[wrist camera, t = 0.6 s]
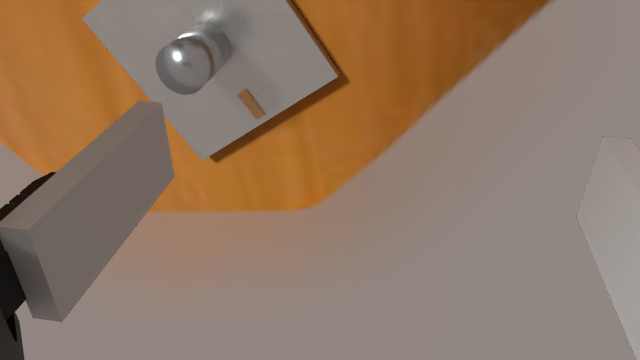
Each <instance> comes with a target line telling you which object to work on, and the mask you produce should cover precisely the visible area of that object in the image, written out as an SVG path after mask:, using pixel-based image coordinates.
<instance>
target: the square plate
mask: <svg viewBox="0 0 640 360" xmlns="http://www.w3.org/2000/svg"><path fill="white" fill-rule="evenodd" d="M82 19H83V21H84V22H85V23H86V24H87V25H88V26H89V28H90V29H91V30H92V31H93V32H94V34H95V35H96V36H97V37H98V38H99V39H100V41H101V42H102V43H103V44H104V45H105V46H106V48H107V49H108V50H109V51H110V52H111V54H112V55H113V56H114V57H115V58H116V59H117V61H118V62H119V63H120V64H121V65H122V67H123V68H124V69H125V70H126V71H127V72H128V74H129V75H130V76H131V77H132V78H133V79H134V81H135V82H136V83H137V84H138V85H139V87H140V88H141V89H142V90H143V91H144V92H145V94H146V95H147V96H148V97H149V98H150V99H151V101H152V102H159V103H162V107H163V113H164V116H165V117H166V118H167V119H168V121H169V122H170V123H171V124H172V125H173V127H174V128H175V129H176V130H177V131H178V132H179V134H180V135H181V136H182V137H183V138H184V139H185V141H186V142H187V143H188V144H189V145H190V147H191V148H192V149H193V150H194V151H195V152H196V154H197V155H198V156H199V157H200V158H201V159H202V160H204V159H206V158H207V157H209V156H210V155H212V154H214V153H215V152H217V151H219V150H220V149H222V148H223V147H225V146H227V145H228V144H230V143H232V142H233V141H235V140H236V139H238V138H240V137H241V136H243V135H245V134H246V133H248V132H249V131H251V130H253V129H254V128H256V127H257V126H259V125H261V124H262V123H264V122H266V121H267V120H269V119H270V118H272V117H274V116H275V115H277V114H279V113H280V112H282V111H283V110H285V109H287V108H288V107H290V106H292V105H293V104H295V103H296V102H298V101H300V100H301V99H303V98H304V97H306V96H308V95H309V94H311V93H313V92H314V91H316V90H317V89H319V88H321V87H322V86H324V85H326V84H327V83H329V82H330V81H332V80H334V79H335V78H337V77H338V76H339V73H340V71H339V70H338V68H337V67H336V65H335V64H334V63H333V61H332V60H331V58H330V57H329V55H328V54H327V52H326V51H325V49H324V48H323V46H322V45H321V43H320V42H319V40H318V39H317V38H316V36H315V35H314V33H313V32H312V30H311V29H310V27H309V26H308V24H307V23H306V21H305V20H304V18H303V17H302V16H301V14H300V13H299V11H298V10H297V8H296V7H295V5H294V4H293V2H292V1H291V0H102V1H101V2H100V3H99V4H97V5H96V6H95V7H94V8H93V9H92V10H91V11H90V12H89V13H88V14H86V15H85V16H84V17H83V18H82Z"/></svg>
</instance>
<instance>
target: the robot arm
mask: <svg viewBox="0 0 640 360" xmlns="http://www.w3.org/2000/svg"><path fill="white" fill-rule="evenodd" d="M173 178H174V171H173V166H172V160H171V154H170V148H169V142H168V136H167V131H166V125H165V119H164V113H163V107H162V103H159V102H146V101H138V102H137V103H136V104H135V105H134V106H133V107H131V108H130V109H129V110H128V111H127V112H126V113H125V114H123V115H122V116H121V117H120V118H119V119H118V120H117V121H115V122H114V123H113V124H112V125H111V126H110V127H108V128H107V129H106V130H105V131H104V132H103V133H102V134H100V135H99V136H98V137H97V138H96V139H95V140H94V141H92V142H91V143H90V144H89V145H88V146H87V147H85V148H84V149H83V150H82V151H81V152H80V153H79V154H77V155H76V156H75V157H74V158H73V159H72V160H70V161H69V162H68V163H67V164H66V165H65V166H64V167H62V168H61V169H60V170H59V171H58V172H51V173H49V174H47V175H45V176H43V177H41V178H39V179H37V180H35V181H33V182H32V183H31V184H30V185H28V186H27V187H26V188H25V189H24V190H22V191H21V192H20V195H16V196H15V197H14V198H13V199H12V200H10V201H9V204H6V205H5V206H3V207H2V208H1V209H0V360H24V353H23V346H22V338H21V331H20V324H19V320H18V318H17V316H16V313H15V311H16V310H17V309H18V308H19V307H20V306H21V304H22V303H23V302H24V301H25V300H26V302H27V304H28V307H29V309H30V312H31V314H32V317H33V318H38V319H45V320H52V321H59V322H63V320H64V319H65V318H66V316H67V315H68V314H69V313H70V311H71V310H72V309H73V307H74V306H75V305H76V303H77V302H78V301H79V300H80V298H81V297H82V296H83V294H84V293H85V292H86V290H87V289H88V288H89V287H90V285H91V284H92V283H93V281H94V280H95V279H96V278H97V276H98V275H99V274H100V272H101V271H102V270H103V268H104V267H105V266H106V265H107V263H108V262H109V261H110V259H111V258H112V257H113V256H114V254H115V253H116V252H117V250H118V249H119V248H120V247H121V245H122V244H123V242H124V241H125V240H126V239H127V237H128V236H129V235H130V234H131V232H132V231H133V230H134V228H135V227H136V226H137V225H138V223H139V222H140V221H141V219H142V218H143V217H144V215H145V214H146V213H147V212H148V210H149V209H150V208H151V206H152V205H153V204H154V202H155V201H156V200H157V199H158V197H159V196H160V195H161V193H162V192H163V191H164V190H165V188H166V187H167V186H168V184H169V183H170V182H171V180H172V179H173ZM576 217H577V219H578V222H579V224H580V226H581V229H582V231H583V234H584V236H585V238H586V241H587V243H588V246H589V248H590V250H591V253H592V255H593V257H594V260H595V262H596V265H597V267H598V269H599V272H600V274H601V277H602V279H603V281H604V284H605V286H606V288H607V290H608V293H609V296H610V298H611V300H612V303H613V305H614V308H615V310H616V312H617V315H618V317H619V319H620V322H621V324H622V327H623V329H624V331H625V334H626V336H627V339H628V341H629V343H630V346H631V348H632V351H633V353H634V355H635V358H636V360H640V150H639V148H638V147H637V146H636V144H635V143H634V141H633V140H632V139H629V138H616V137H602V139H601V143H600V145H599V148H598V151H597V155H596V157H595V160H594V163H593V167H592V169H591V173H590V175H589V179H588V181H587V184H586V188H585V190H584V194H583V197H582V199H581V203H580V206H579V209H578V212H577V215H576Z"/></svg>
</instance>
